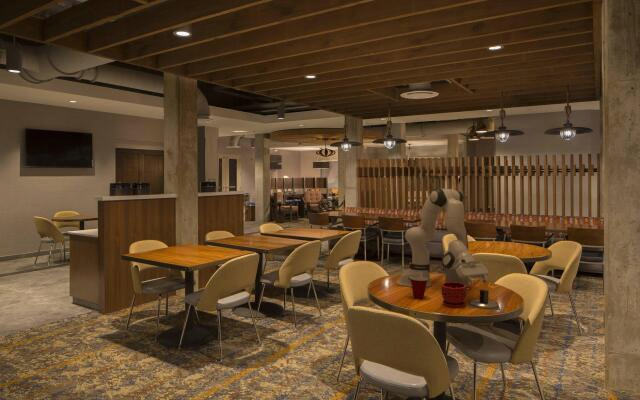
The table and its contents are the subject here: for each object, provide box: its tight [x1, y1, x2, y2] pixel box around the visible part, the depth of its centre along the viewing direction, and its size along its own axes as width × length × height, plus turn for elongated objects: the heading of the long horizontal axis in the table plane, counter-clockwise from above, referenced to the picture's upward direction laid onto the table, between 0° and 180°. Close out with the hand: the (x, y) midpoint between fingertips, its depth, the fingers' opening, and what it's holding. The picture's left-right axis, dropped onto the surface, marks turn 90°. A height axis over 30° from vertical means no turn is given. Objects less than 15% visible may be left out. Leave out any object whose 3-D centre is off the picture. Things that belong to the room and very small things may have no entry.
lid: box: [471, 288, 497, 310], centre depth 253 cm, size 14×14×8 cm
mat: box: [467, 299, 502, 311], centre depth 253 cm, size 16×16×1 cm
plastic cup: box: [410, 277, 428, 300], centre depth 269 cm, size 11×11×12 cm
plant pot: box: [441, 282, 467, 308], centre depth 253 cm, size 13×13×12 cm
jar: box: [444, 268, 470, 288], centre depth 294 cm, size 19×15×25 cm
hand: (479, 283), depth 255 cm, fingers open, 8 cm apart
